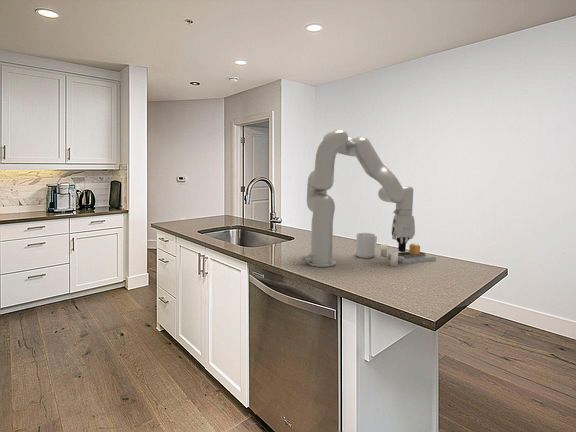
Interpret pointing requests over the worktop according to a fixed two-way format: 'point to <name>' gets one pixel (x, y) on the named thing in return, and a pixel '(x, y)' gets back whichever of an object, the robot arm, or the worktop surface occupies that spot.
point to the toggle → (414, 249)
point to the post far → (384, 250)
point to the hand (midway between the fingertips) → (401, 251)
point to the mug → (366, 245)
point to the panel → (413, 257)
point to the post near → (394, 259)
